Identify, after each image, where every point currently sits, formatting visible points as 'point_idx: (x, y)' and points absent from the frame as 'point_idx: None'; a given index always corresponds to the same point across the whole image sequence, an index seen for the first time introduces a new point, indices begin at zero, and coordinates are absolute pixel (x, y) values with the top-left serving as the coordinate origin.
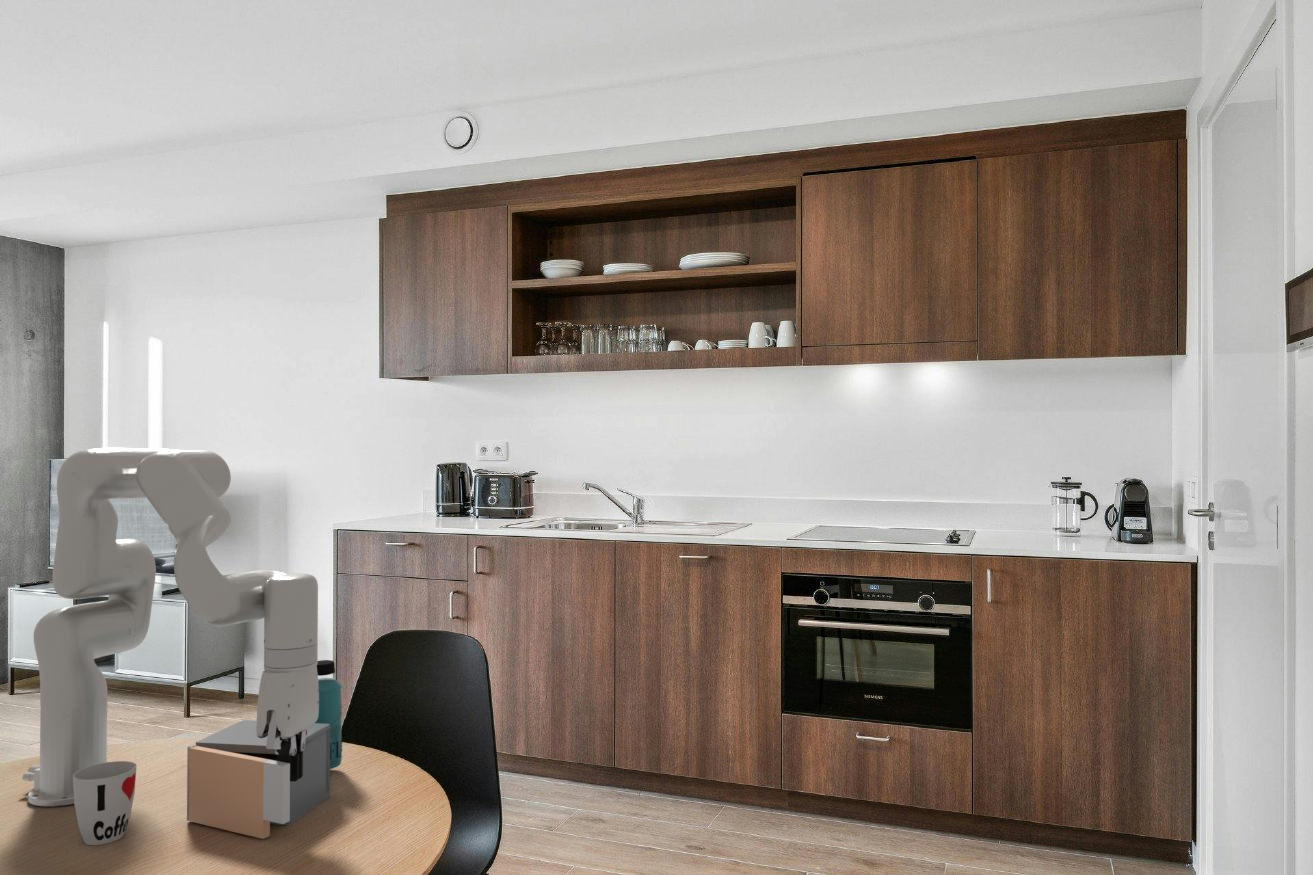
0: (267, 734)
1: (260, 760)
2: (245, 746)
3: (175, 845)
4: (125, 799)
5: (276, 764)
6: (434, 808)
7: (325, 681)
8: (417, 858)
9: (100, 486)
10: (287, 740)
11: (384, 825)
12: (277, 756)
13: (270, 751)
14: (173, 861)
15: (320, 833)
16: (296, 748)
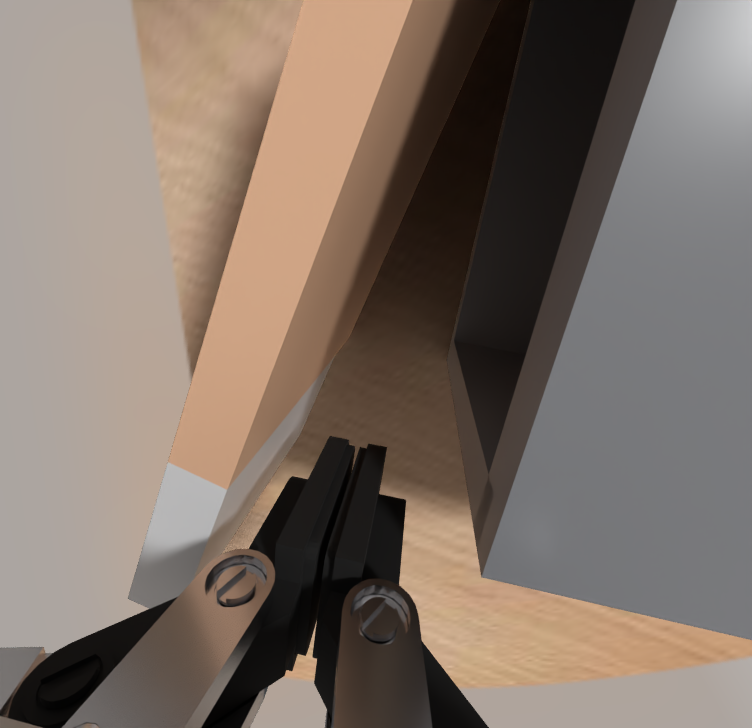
0: (3, 720)
1: (203, 424)
2: (655, 40)
3: (286, 4)
4: None
5: (145, 554)
6: (530, 676)
7: None
8: None
9: None
10: (334, 692)
11: (430, 591)
12: (286, 525)
13: (525, 382)
14: (172, 91)
15: (385, 462)
16: (320, 681)
